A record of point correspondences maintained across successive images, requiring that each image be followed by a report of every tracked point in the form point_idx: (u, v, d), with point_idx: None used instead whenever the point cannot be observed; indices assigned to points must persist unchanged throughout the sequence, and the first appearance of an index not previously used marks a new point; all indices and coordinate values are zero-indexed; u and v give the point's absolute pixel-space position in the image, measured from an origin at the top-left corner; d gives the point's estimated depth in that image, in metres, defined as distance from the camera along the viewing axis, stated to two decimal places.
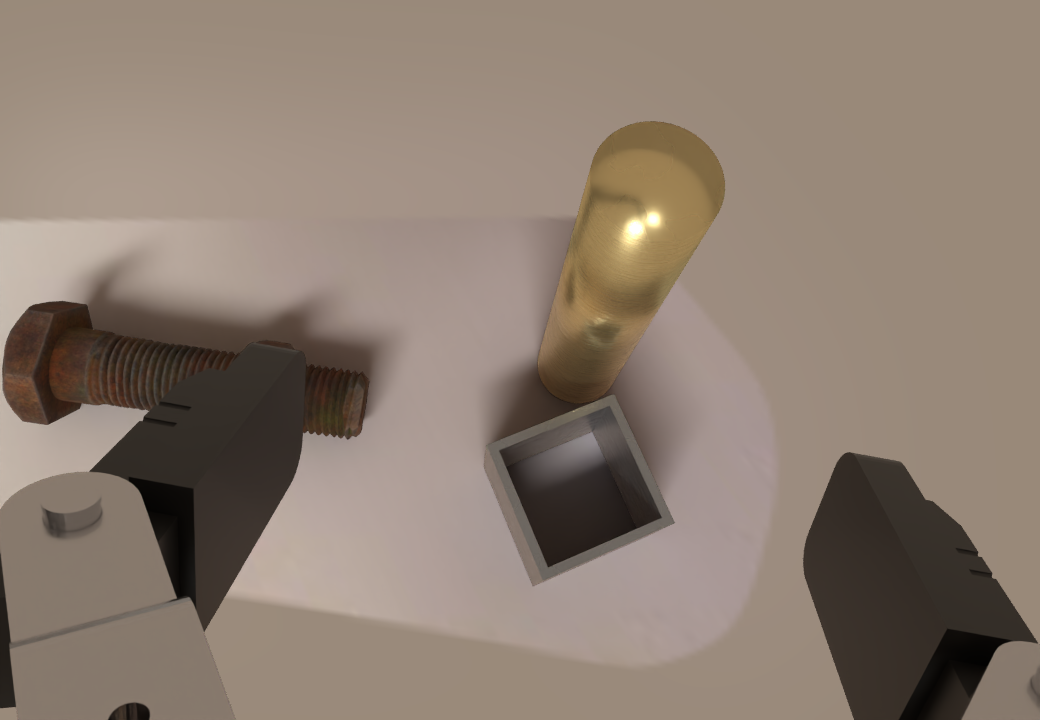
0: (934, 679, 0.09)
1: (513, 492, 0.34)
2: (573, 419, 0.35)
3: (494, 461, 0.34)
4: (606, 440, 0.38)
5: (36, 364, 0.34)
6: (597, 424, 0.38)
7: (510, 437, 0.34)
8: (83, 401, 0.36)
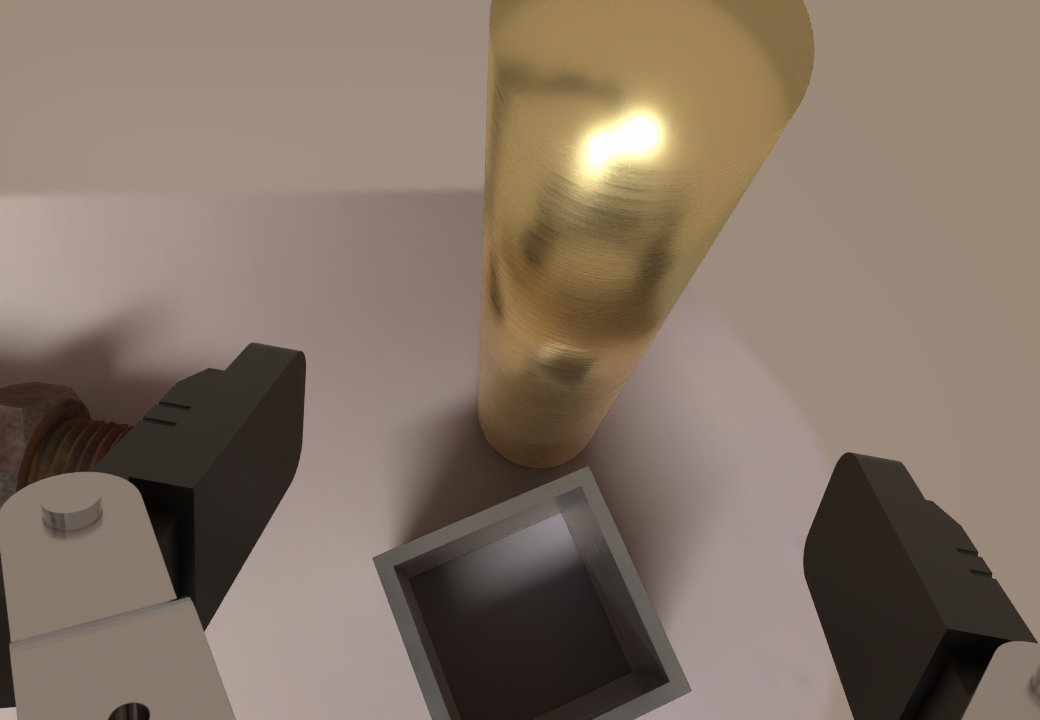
0: (934, 679, 0.09)
1: (415, 641, 0.20)
2: (520, 510, 0.21)
3: (385, 586, 0.20)
4: (580, 532, 0.24)
5: None
6: (566, 506, 0.24)
7: (413, 543, 0.20)
8: None
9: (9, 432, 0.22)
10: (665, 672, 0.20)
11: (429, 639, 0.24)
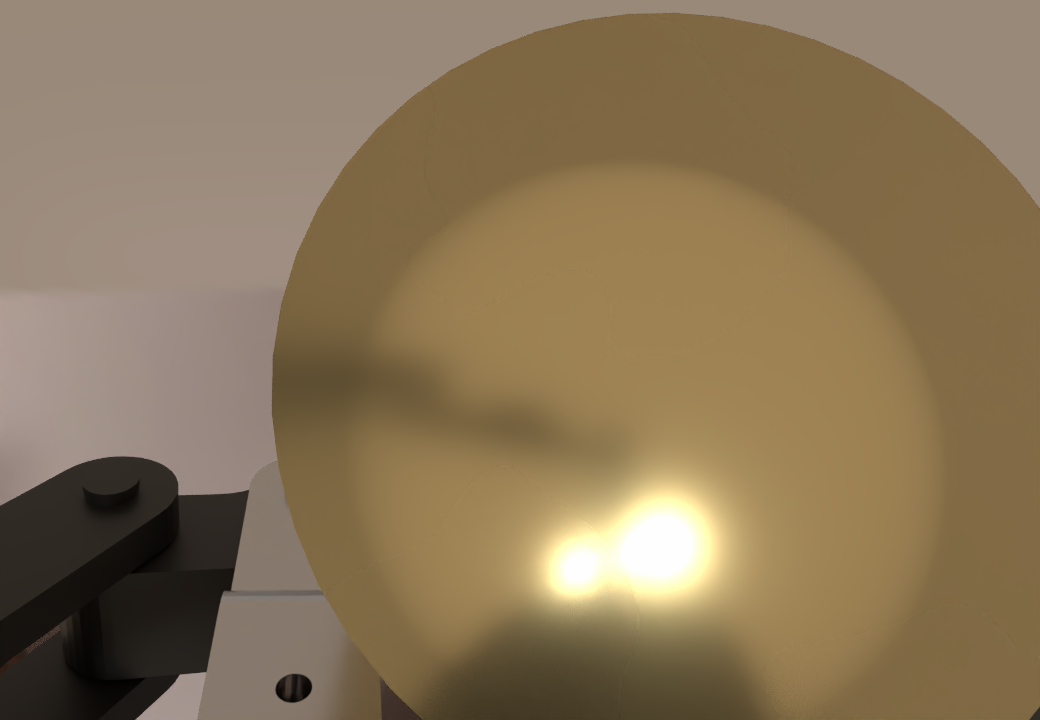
0: None
1: None
2: None
3: None
4: None
5: None
6: None
7: None
8: None
9: None
10: None
11: None
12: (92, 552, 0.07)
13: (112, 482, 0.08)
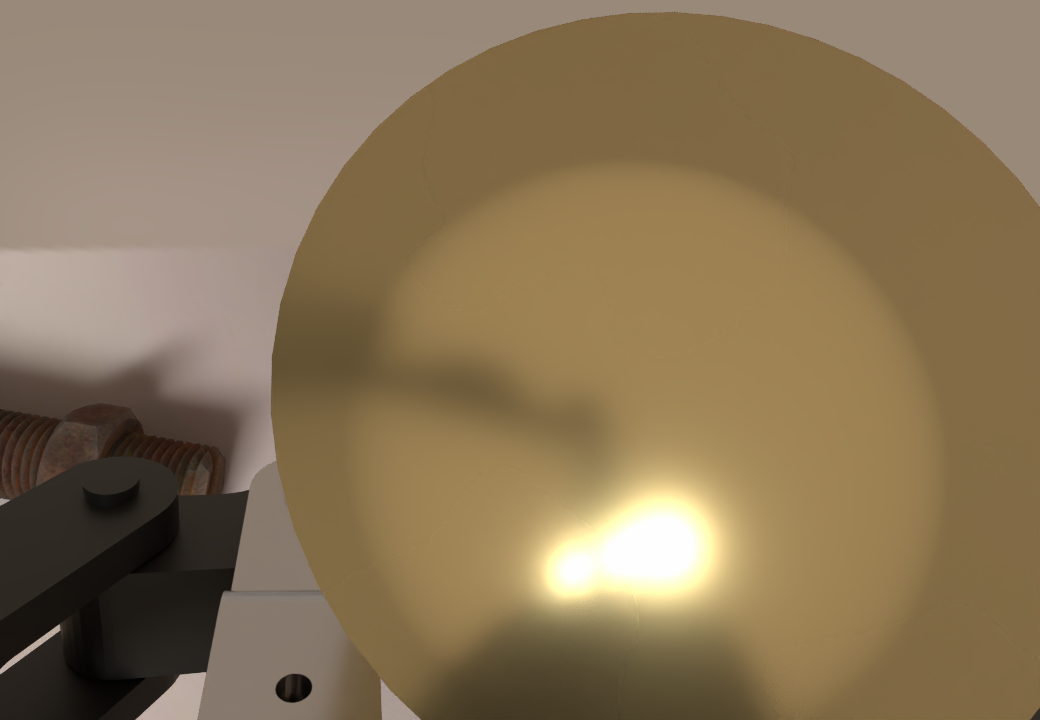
0: None
1: None
2: None
3: None
4: None
5: None
6: None
7: None
8: None
9: (86, 444, 0.28)
10: None
11: None
12: (92, 552, 0.07)
13: (112, 482, 0.08)
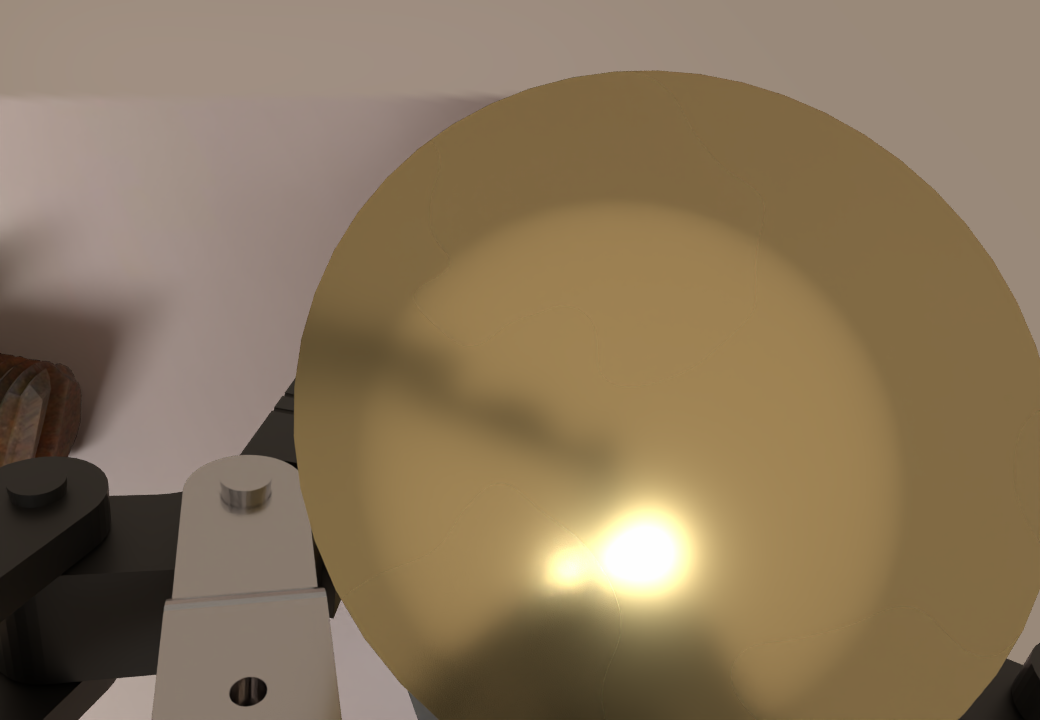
0: None
1: None
2: None
3: None
4: None
5: None
6: None
7: None
8: None
9: None
10: None
11: None
12: (23, 553, 0.07)
13: (39, 482, 0.08)
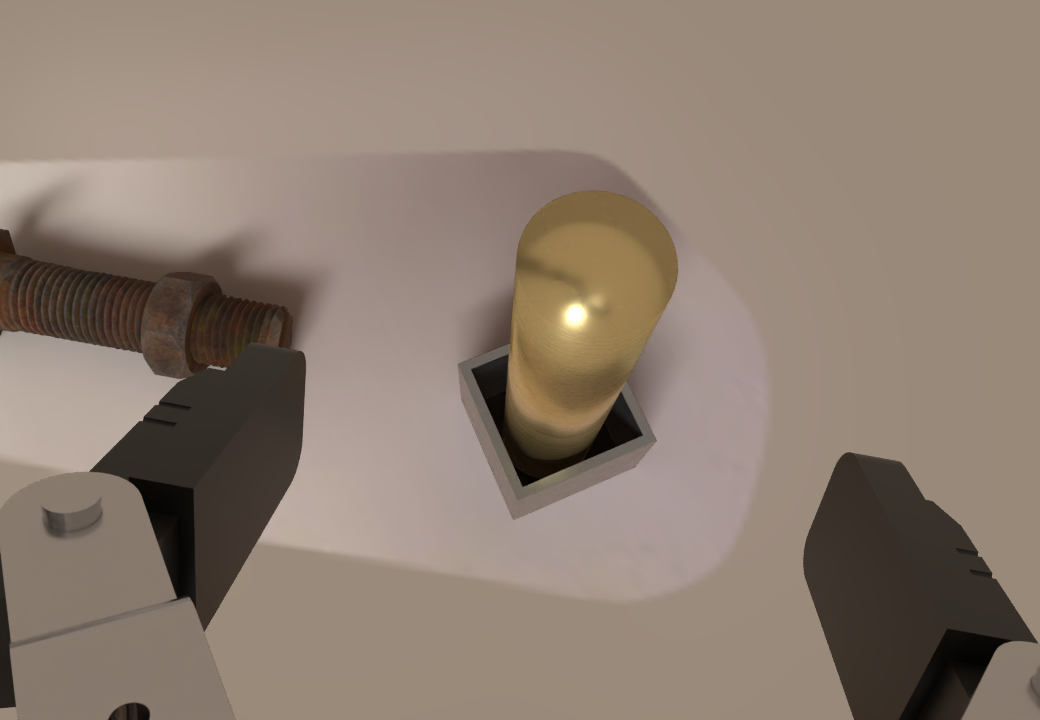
0: (934, 679, 0.09)
1: (486, 411, 0.32)
2: None
3: (466, 380, 0.33)
4: None
5: None
6: None
7: (482, 356, 0.33)
8: None
9: (182, 295, 0.34)
10: (640, 430, 0.32)
11: None
12: None
13: None
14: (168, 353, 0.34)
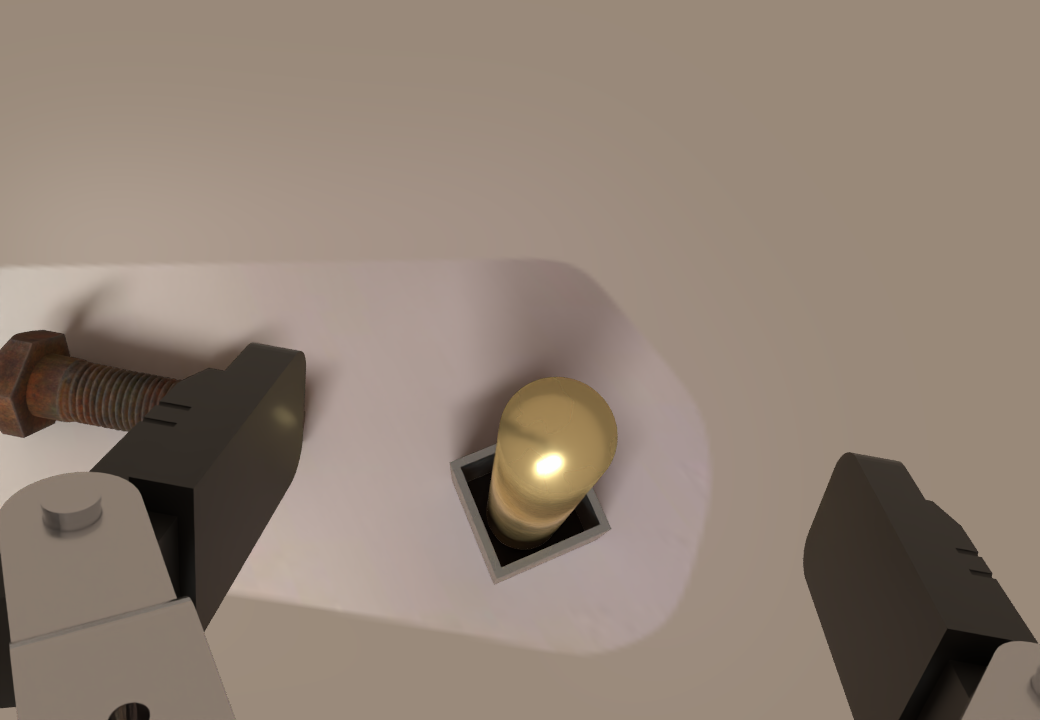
0: (934, 679, 0.09)
1: (472, 503, 0.39)
2: None
3: (456, 476, 0.40)
4: None
5: (14, 387, 0.40)
6: None
7: (470, 455, 0.40)
8: (55, 418, 0.42)
9: None
10: (598, 520, 0.39)
11: None
12: None
13: None
14: None
